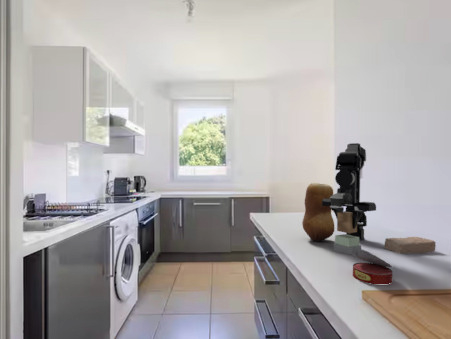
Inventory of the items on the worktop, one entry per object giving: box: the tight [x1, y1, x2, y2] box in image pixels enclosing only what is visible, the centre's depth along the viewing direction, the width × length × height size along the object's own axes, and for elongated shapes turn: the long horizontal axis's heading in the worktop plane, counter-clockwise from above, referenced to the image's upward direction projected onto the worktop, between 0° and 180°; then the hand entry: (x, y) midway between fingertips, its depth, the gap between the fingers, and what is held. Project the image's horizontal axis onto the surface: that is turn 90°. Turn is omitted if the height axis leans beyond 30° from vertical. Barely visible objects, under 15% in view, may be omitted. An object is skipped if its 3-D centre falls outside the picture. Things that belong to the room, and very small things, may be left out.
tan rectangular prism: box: [336, 211, 357, 234], centre depth 106 cm, size 5×5×7 cm
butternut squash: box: [301, 182, 335, 242], centre depth 123 cm, size 14×13×25 cm
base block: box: [333, 242, 362, 256], centre depth 106 cm, size 7×7×3 cm
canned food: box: [352, 248, 393, 285], centre depth 79 cm, size 11×10×10 cm
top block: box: [334, 233, 360, 247], centre depth 106 cm, size 6×6×3 cm
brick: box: [383, 236, 437, 255], centre depth 110 cm, size 17×8×5 cm, turn 102°
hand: (347, 227), depth 106 cm, fingers closed on tan rectangular prism, 5 cm apart
